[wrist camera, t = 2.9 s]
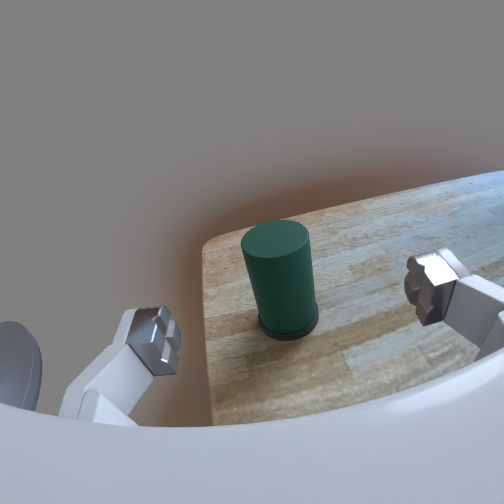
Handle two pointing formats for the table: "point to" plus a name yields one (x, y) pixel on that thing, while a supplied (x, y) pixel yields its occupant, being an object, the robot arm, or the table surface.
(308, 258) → the thermos cap
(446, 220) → the table surface
